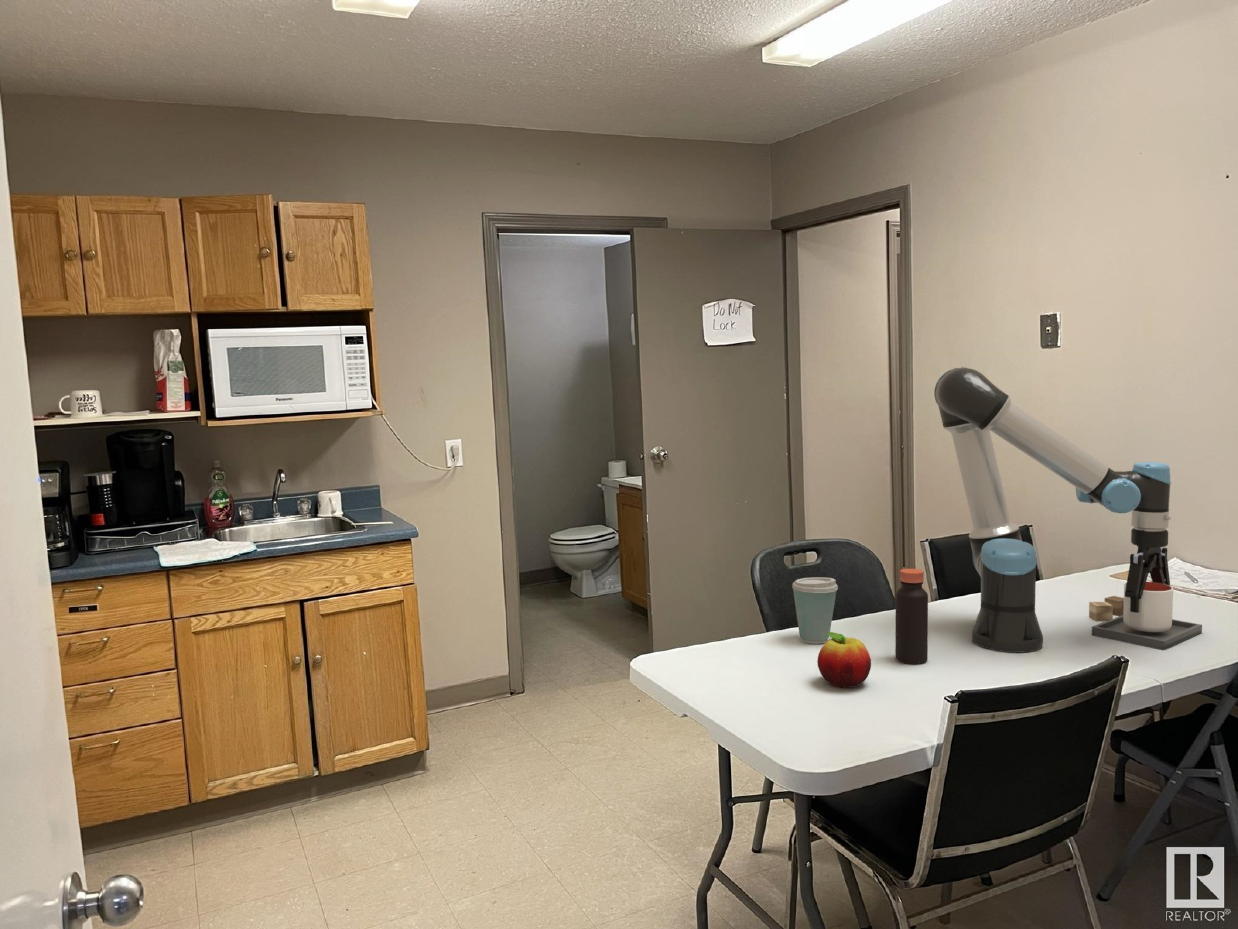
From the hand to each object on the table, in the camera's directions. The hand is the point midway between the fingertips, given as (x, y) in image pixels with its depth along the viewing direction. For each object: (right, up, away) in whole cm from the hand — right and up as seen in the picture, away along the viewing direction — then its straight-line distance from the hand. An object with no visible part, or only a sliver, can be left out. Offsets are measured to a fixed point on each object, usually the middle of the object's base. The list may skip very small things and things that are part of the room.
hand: (1146, 621), depth 218 cm
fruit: (-78, -8, -28) cm, 83 cm away
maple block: (-4, -2, +14) cm, 15 cm away
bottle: (-60, -6, -14) cm, 62 cm away
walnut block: (+3, -1, +19) cm, 19 cm away
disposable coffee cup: (-78, -5, +2) cm, 78 cm away
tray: (0, -3, 0) cm, 3 cm away
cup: (0, -2, 0) cm, 2 cm away
